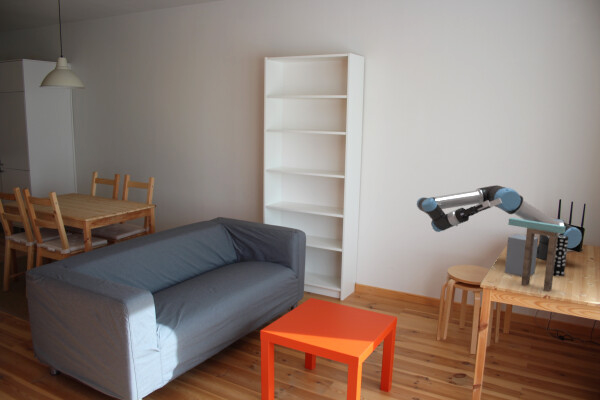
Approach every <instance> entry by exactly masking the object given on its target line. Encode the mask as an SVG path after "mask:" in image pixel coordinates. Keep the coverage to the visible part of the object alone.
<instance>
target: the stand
mask: <svg viewBox="0 0 600 400" xmlns="http://www.w3.org/2000/svg"><path fill="white" fill-rule="evenodd" d="M535 235H539V236H540V235H545V236H549V245H548V254H547V260H546V263H545V264H546V265H545V274H544V280H543V281H544V283H543V291H544V292H550V291H551V290H552V288H553V281H554V280H553V278H554V276H553V273H554V264H555V255H556V247H557V238H558V233H555V232H549V231H543V230H537V229H531V228H526V244H525V253H524V263H523V273H522V276H521V282H520V283H521V286H523V287H527V286H529V285H530V283H531V282H530V281H531V275H530V274H531V264H532V255H533V245H534V237H536V236H535Z"/></svg>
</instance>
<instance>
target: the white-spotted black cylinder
mask: <svg viewBox="0 0 600 400" xmlns="http://www.w3.org/2000/svg"><path fill="white" fill-rule="evenodd" d="M567 246H568V237H567V236H563V235H558V238H557V247H556V255H555V264H554V273H553V277H564V276H565V270H566V260H567V254H568V253H567V252H568V248H567Z"/></svg>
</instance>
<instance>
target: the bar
mask: <svg viewBox="0 0 600 400" xmlns="http://www.w3.org/2000/svg"><path fill="white" fill-rule="evenodd" d="M507 224H508V226H513V227H518V228H520V227H521V228H526V229H527V228H531V229H537V230H543V231H549V232H555V233H561V234H563V233H565V228H566V226H561V225H555V224H548V223H542V222H535V221H529V220H524V219H522V218H515V217H510V218H508V223H507Z"/></svg>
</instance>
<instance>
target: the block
mask: <svg viewBox="0 0 600 400" xmlns="http://www.w3.org/2000/svg"><path fill="white" fill-rule="evenodd" d="M525 244H526V235H525V234H519V233H516V234H513V235H509V236H508V237H507V244H506V258H505V266H504V267H505V269H504V273H506V274H509V275H515V276H518V277H522V273H523V263H524V253H525ZM538 244H539V237H536V236H534V245H533V255H532V264H531V274H530V276H533V275H535V272H536V265H537V257H536V255H537V246H538Z"/></svg>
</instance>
